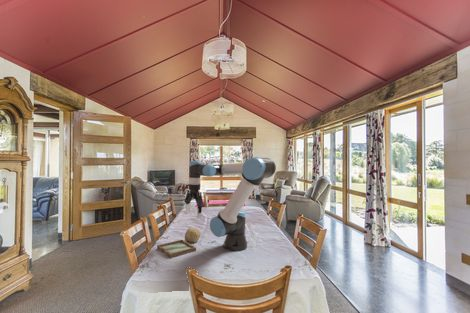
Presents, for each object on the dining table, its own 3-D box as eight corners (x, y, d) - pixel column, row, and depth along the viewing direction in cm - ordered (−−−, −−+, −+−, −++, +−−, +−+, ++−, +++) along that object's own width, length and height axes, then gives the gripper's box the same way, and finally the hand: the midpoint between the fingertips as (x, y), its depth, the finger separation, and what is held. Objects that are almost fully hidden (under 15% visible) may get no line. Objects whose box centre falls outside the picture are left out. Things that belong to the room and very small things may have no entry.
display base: (196, 251, 144) (196, 247, 144) (170, 258, 133) (170, 254, 133) (181, 242, 157) (182, 239, 157) (157, 248, 145) (157, 245, 145)
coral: (189, 228, 167) (200, 224, 163) (192, 242, 164) (204, 239, 160) (180, 230, 159) (191, 226, 155) (183, 245, 156) (195, 242, 152)
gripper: (210, 185, 153) (208, 218, 153) (189, 181, 171) (188, 211, 171) (200, 186, 148) (198, 220, 148) (180, 182, 166) (178, 212, 166)
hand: (193, 215), depth 159 cm, fingers open, 13 cm apart
